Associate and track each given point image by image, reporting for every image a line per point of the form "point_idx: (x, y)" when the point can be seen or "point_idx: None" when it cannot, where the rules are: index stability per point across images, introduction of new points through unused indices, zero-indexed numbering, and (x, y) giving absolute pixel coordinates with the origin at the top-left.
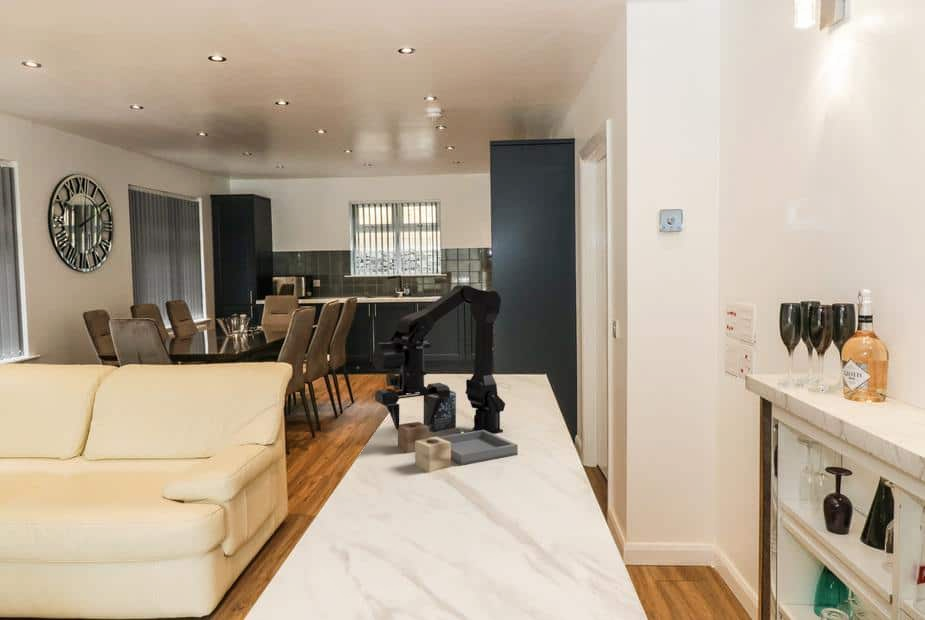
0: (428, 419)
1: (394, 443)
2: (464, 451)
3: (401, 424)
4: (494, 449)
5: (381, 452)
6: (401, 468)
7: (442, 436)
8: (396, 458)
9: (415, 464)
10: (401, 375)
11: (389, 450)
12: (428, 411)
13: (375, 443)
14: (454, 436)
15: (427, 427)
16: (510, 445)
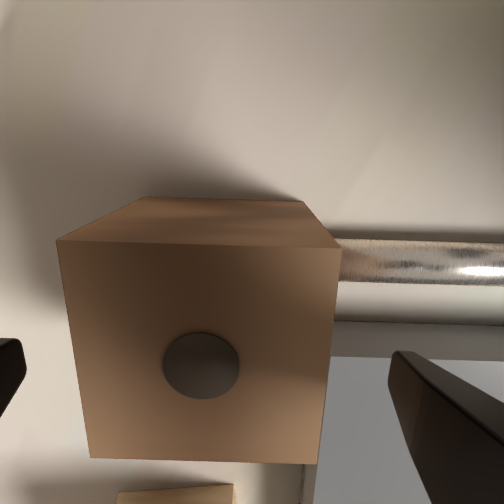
0: (412, 393)
1: (153, 94)
2: (407, 487)
3: (104, 249)
4: None
5: (11, 242)
6: (49, 493)
7: (472, 276)
8: (67, 376)
9: (117, 499)
10: None
11: (70, 231)
12: (494, 468)
13: (13, 2)
14: (502, 381)
15: (300, 462)
16: None
